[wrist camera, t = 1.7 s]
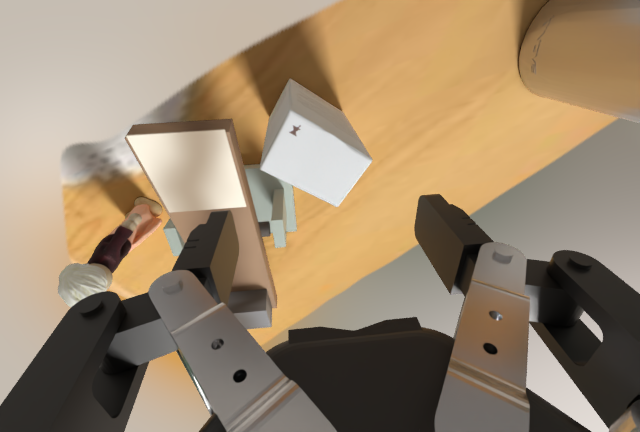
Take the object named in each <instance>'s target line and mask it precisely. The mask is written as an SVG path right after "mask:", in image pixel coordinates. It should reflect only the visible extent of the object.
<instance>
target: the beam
mask: <svg viewBox="0 0 640 432" xmlns="http://www.w3.org/2000/svg"><path fill="white" fill-rule="evenodd" d="M125 140H126V141H127V143H128V145H129V147H130V148H131V150H132V152H133V154H134V155H135V157H136V159H137V161H138V162H139V164H140V166H141V168H142V169H143V171H144V173H145V175H146V176H147V178H148V180H149V182H150V183H151V185H152V187H153V189H154V190H155V192H156V194H157V196H158V197H159V199H160V201H161V203H162V204H163V206H164V208H165V210H166V211H167V213H168V215H169V217H170V218H171V220H172V222H173V224H174V225H175V227H176V229H177V231H178V232H179V234H180V236H181V238H182V239H183V241H184V243H186V242H187V239H188V237H189V235H190V232H191V231H192V230H194V229H195V228H196V227H197V226H198V225H199V224H206V223H207V220H208V218H209V216H210V213H211V212H212V211H225V210H230V211H231V212H232V215H233V219H234V224H235V228H236V232H237V236H238V241H239V256H238V261H237V265H236V270H235V274H234V279H233V283H232V288H231V292H230V297H229V301H228V305H227V307H228V308H229V309H230V311H231V312H232V313H233V314H234V315H235V317H236V318H237V319H238V320H239V321H240V323H241V324H242V325H243V326H244V327H245V329H254V328H265V327H272V308H277V294H276V290H275V286H274V282H273V278H272V275H271V271H270V267H269V263H268V259H267V255H266V251H265V247H264V243H263V239H262V237H266V236H270V223H269V221H264V222H258V219H257V215H256V212H255V208H254V204H253V200H252V196H251V192H250V188H249V184H248V180H247V176H246V172H245V168H244V164H243V160H242V156H241V152H240V149H239V145H238V141H237V137H236V133H235V129H234V125H233V121H232V119H220V120H204V121H187V122H171V123H154V124H138V125H133V126H132V128H131V129H130V131H129V132H128V134H127V135H126V137H125Z"/></svg>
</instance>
